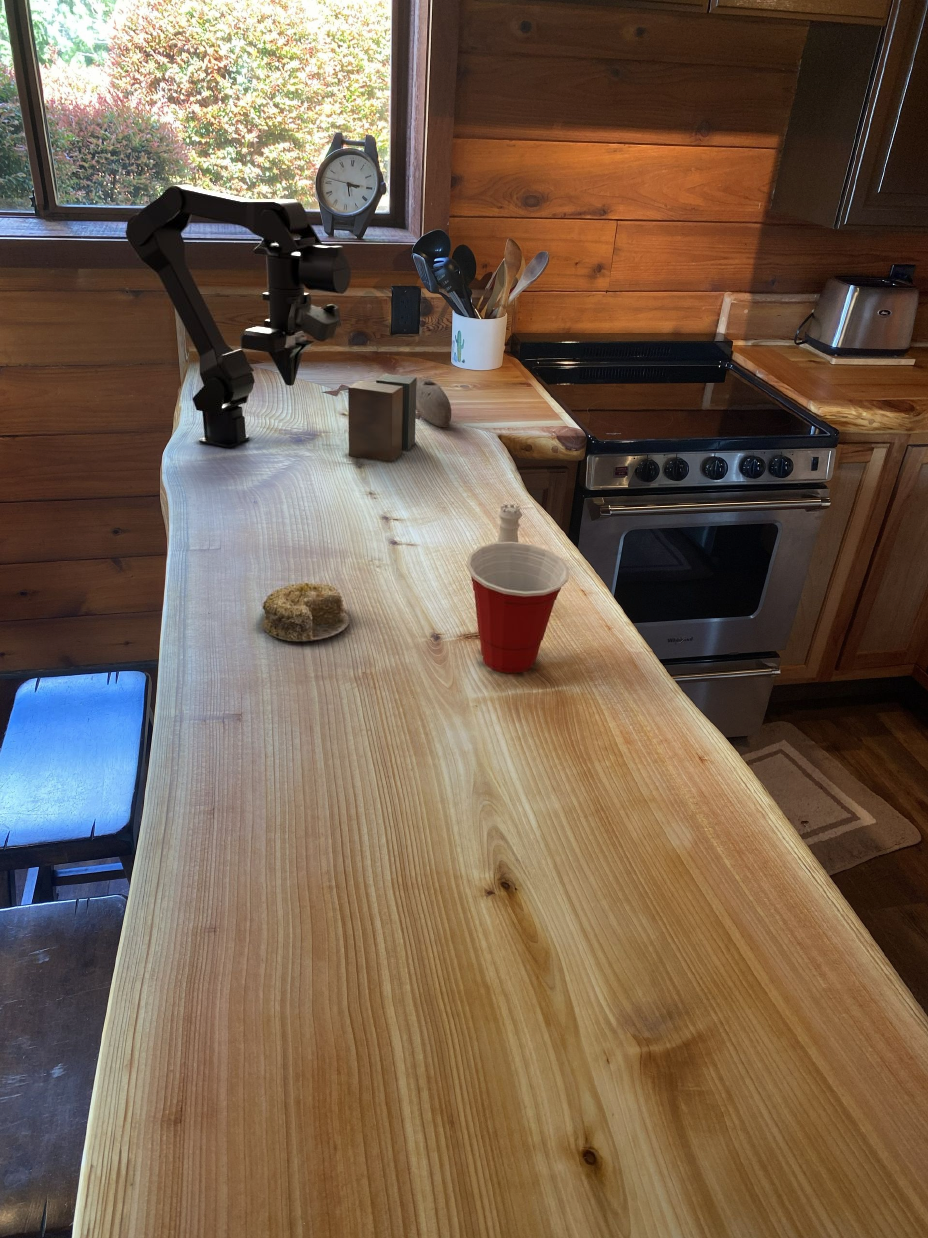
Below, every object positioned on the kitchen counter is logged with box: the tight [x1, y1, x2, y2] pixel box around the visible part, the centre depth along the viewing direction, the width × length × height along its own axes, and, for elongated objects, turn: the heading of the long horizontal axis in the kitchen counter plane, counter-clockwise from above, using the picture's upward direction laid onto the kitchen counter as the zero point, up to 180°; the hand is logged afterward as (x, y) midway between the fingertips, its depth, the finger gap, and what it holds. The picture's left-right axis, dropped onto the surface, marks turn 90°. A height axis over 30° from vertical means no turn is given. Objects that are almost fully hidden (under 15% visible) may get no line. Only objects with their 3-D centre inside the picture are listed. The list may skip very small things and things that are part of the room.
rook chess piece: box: [496, 503, 523, 543], centre depth 120 cm, size 4×4×8 cm
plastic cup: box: [466, 541, 570, 674], centre depth 96 cm, size 11×11×12 cm
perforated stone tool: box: [416, 378, 452, 428], centre depth 176 cm, size 15×5×7 cm, turn 20°
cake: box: [261, 582, 350, 642], centre depth 103 cm, size 10×10×5 cm
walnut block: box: [347, 380, 403, 463], centre depth 155 cm, size 8×5×12 cm, turn 72°
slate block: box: [375, 373, 418, 452], centre depth 161 cm, size 6×5×12 cm
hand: (289, 384), depth 150 cm, fingers closed
